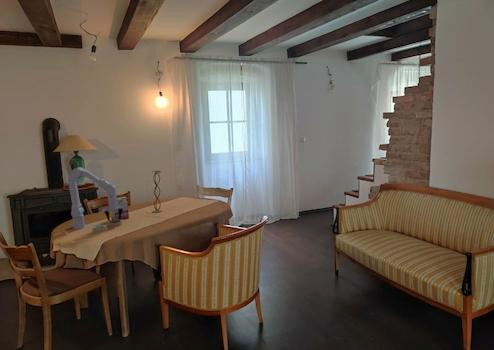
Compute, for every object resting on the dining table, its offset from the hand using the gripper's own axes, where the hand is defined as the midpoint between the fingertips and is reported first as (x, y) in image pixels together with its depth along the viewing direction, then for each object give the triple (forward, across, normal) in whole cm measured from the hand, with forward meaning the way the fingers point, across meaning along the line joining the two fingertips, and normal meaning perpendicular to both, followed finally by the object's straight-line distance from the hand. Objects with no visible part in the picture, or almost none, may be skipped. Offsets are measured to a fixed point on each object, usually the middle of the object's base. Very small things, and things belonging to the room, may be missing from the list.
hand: (114, 220), depth 266 cm
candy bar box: (+5, +9, +17) cm, 20 cm away
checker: (+4, -11, 0) cm, 12 cm away
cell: (+4, 0, 0) cm, 4 cm away
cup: (+4, 0, 0) cm, 4 cm away
